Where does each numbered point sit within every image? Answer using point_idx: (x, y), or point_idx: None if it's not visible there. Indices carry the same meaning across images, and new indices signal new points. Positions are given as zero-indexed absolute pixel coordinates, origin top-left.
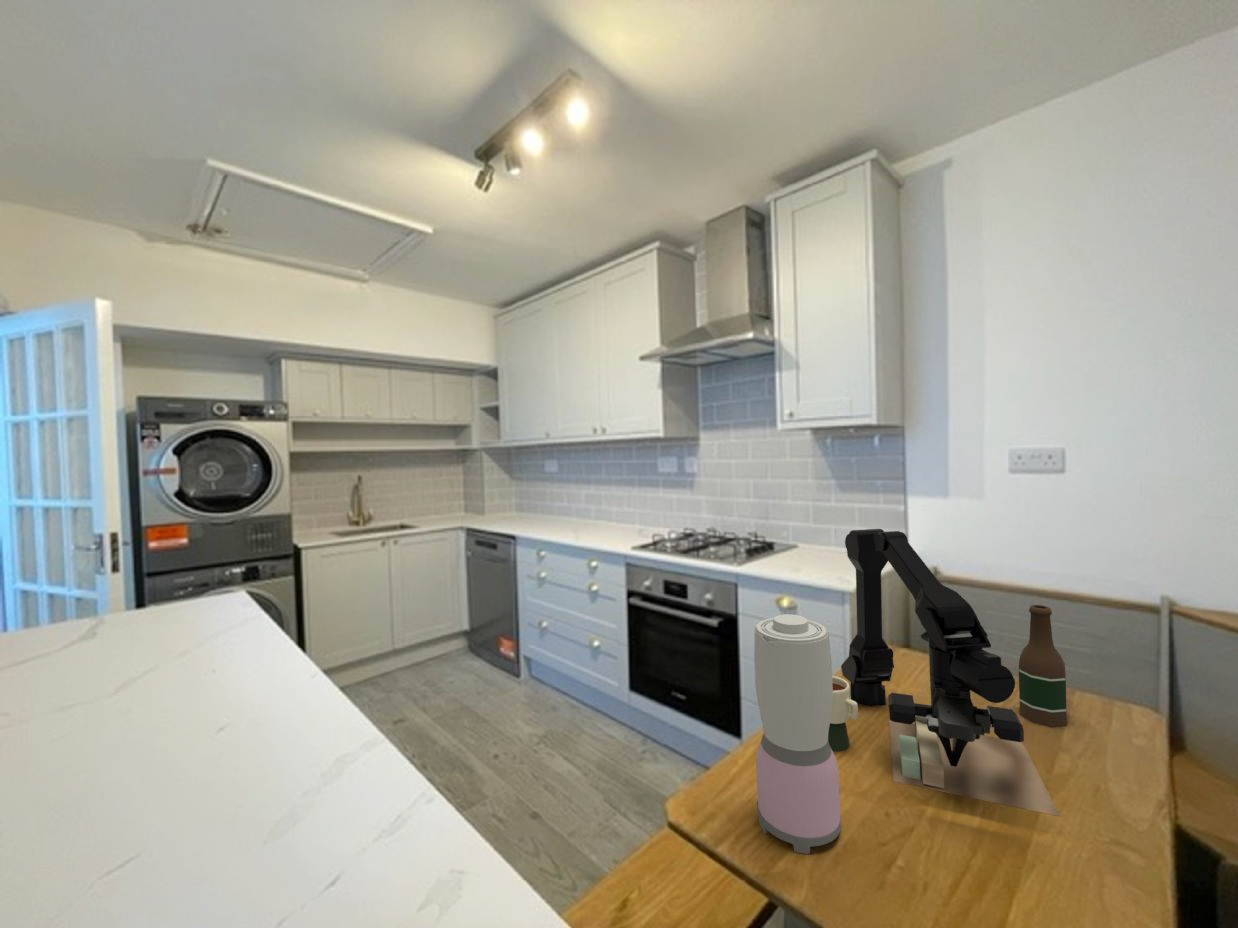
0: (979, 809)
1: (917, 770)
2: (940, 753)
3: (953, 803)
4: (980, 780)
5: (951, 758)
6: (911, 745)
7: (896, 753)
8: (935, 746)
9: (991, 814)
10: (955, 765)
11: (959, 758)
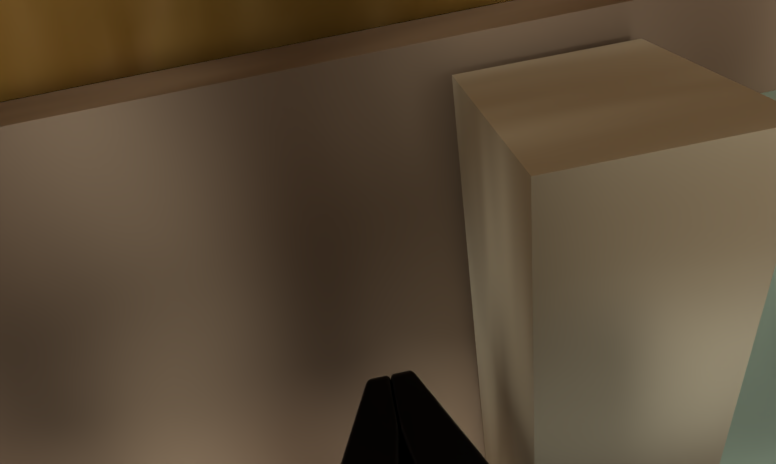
0: (162, 54)
1: None
2: (535, 428)
3: (360, 21)
4: (197, 361)
5: (418, 425)
6: (747, 427)
7: None
8: None
9: (62, 34)
10: (374, 383)
11: (344, 455)
